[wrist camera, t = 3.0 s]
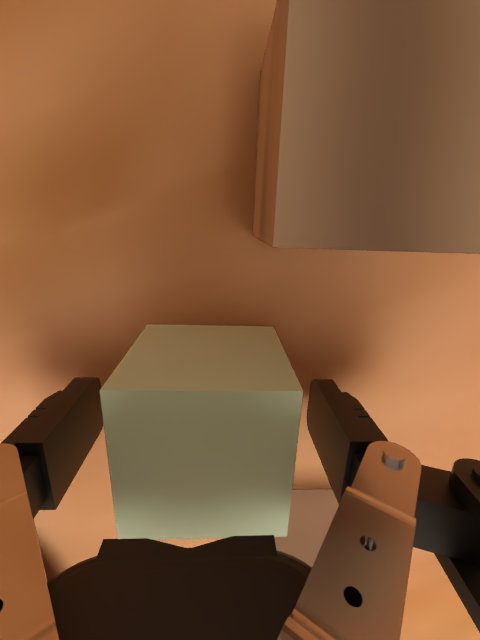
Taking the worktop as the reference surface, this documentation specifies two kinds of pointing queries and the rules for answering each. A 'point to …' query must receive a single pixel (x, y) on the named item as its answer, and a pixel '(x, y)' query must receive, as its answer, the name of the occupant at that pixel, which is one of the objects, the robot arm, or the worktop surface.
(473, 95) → the walnut block
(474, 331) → the worktop surface
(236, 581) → the robot arm
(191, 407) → the green block
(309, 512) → the grey block
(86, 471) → the worktop surface
